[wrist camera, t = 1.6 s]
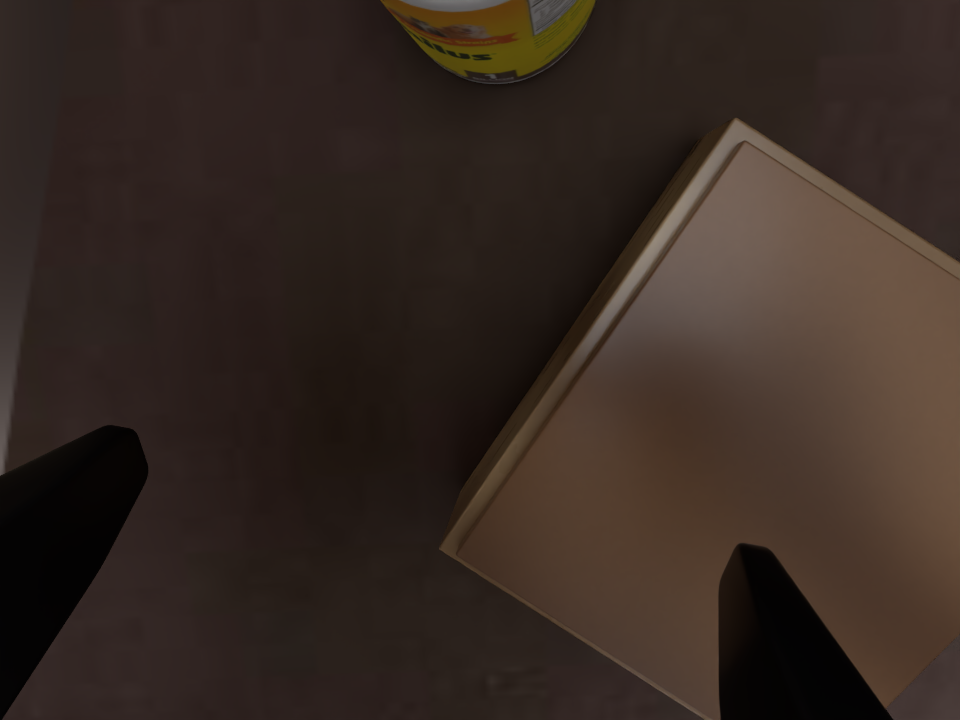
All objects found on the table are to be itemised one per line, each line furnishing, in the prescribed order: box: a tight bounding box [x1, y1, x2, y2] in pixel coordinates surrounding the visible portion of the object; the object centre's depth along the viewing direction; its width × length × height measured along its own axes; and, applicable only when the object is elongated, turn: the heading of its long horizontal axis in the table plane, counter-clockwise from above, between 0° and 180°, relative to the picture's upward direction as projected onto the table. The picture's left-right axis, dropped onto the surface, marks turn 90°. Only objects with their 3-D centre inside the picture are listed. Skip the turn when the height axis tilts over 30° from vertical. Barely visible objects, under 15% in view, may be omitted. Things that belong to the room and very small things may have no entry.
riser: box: [439, 118, 960, 720], centre depth 18 cm, size 13×12×4 cm
